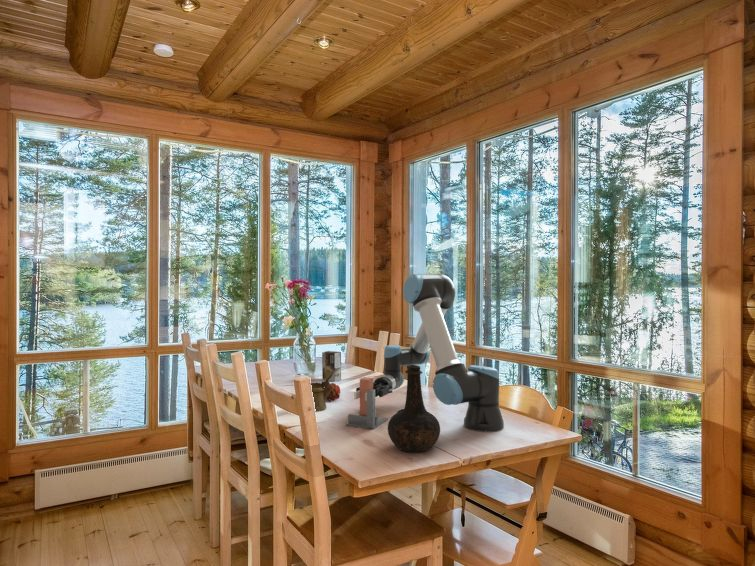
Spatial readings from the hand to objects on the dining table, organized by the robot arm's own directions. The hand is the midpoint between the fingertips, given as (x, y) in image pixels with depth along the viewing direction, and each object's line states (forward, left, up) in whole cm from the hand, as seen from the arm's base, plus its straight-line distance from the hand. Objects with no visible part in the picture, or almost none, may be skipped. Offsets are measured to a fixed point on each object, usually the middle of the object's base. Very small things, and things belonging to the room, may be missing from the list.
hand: (360, 396), depth 202 cm
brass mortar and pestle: (+33, +2, -12) cm, 35 cm away
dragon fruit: (+47, -10, -12) cm, 49 cm away
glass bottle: (-32, -2, -12) cm, 34 cm away
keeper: (+3, -4, -12) cm, 13 cm away
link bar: (+3, -4, -8) cm, 10 cm away
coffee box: (+89, -31, -12) cm, 95 cm away
